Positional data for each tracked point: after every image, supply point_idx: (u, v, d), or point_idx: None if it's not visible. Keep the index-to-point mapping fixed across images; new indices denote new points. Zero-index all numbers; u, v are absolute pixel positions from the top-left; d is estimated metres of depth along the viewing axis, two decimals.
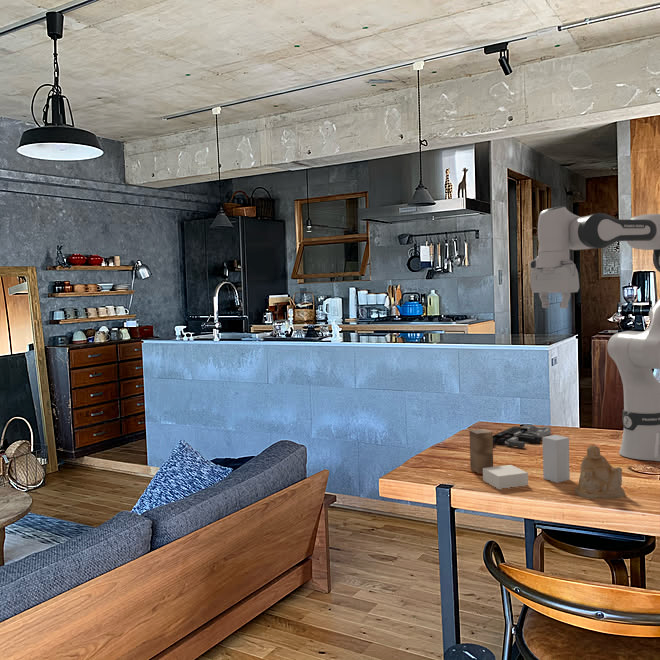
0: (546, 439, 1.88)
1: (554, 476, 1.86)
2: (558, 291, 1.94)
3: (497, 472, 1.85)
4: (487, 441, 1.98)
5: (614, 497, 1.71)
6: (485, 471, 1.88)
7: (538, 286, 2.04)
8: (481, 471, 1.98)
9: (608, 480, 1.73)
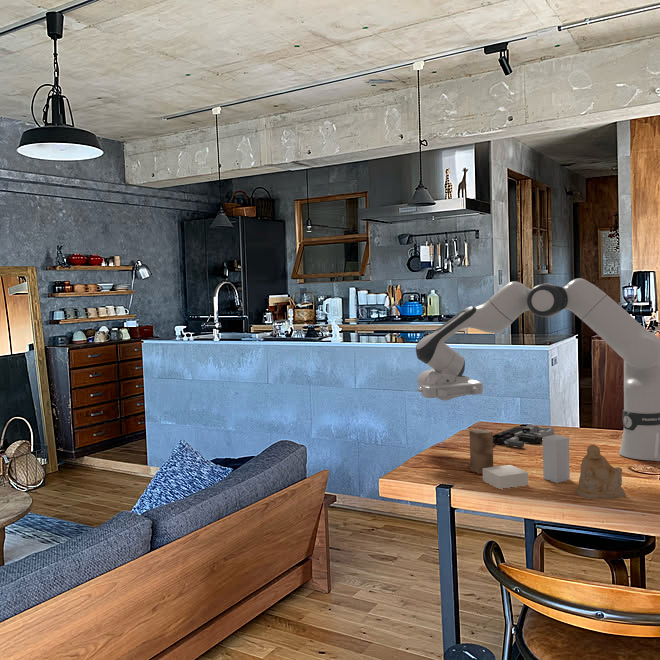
0: (546, 439, 1.88)
1: (554, 476, 1.86)
2: (442, 396, 2.15)
3: (497, 472, 1.85)
4: (487, 441, 1.98)
5: (614, 497, 1.71)
6: (485, 471, 1.88)
7: None
8: (481, 471, 1.98)
9: (608, 480, 1.73)
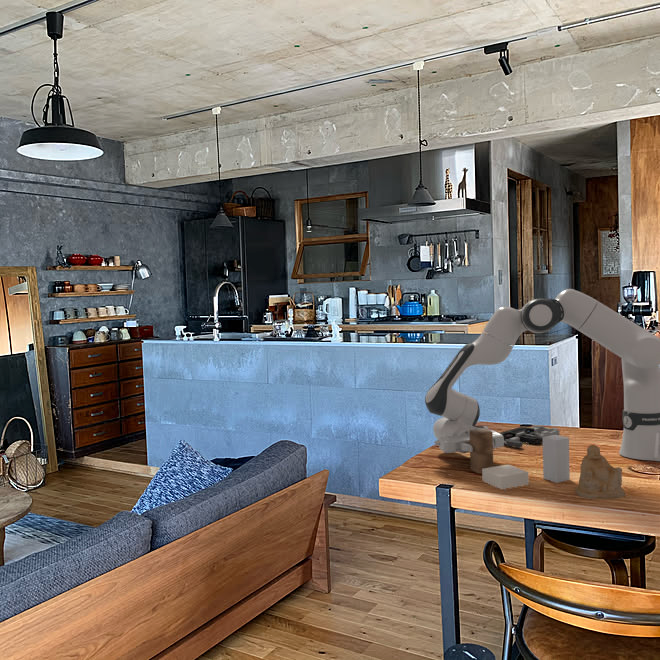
0: (546, 439, 1.88)
1: (554, 476, 1.86)
2: (461, 451, 2.03)
3: (498, 472, 1.85)
4: (487, 441, 1.98)
5: (614, 497, 1.71)
6: (486, 472, 1.88)
7: None
8: (481, 471, 1.98)
9: (608, 480, 1.73)
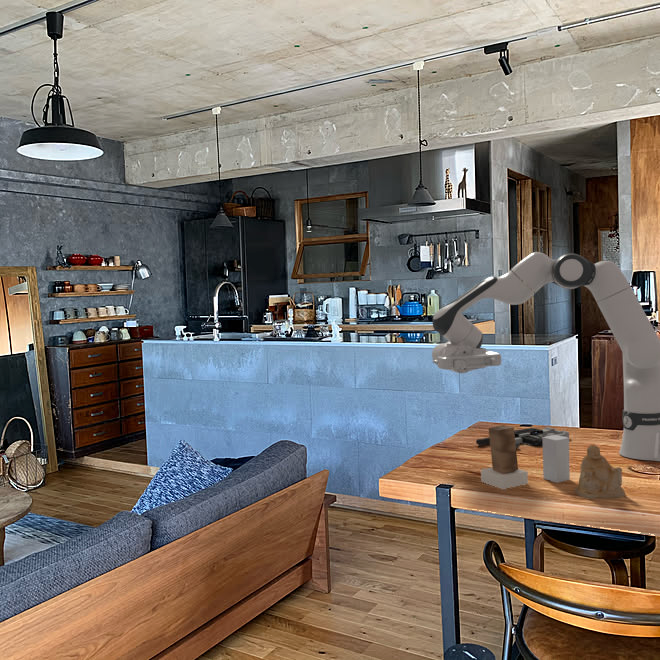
0: (546, 439, 1.88)
1: (554, 476, 1.86)
2: (459, 368, 2.06)
3: (498, 473, 1.85)
4: (509, 438, 1.84)
5: (614, 497, 1.71)
6: (485, 473, 1.88)
7: None
8: (506, 470, 1.84)
9: (608, 480, 1.73)
